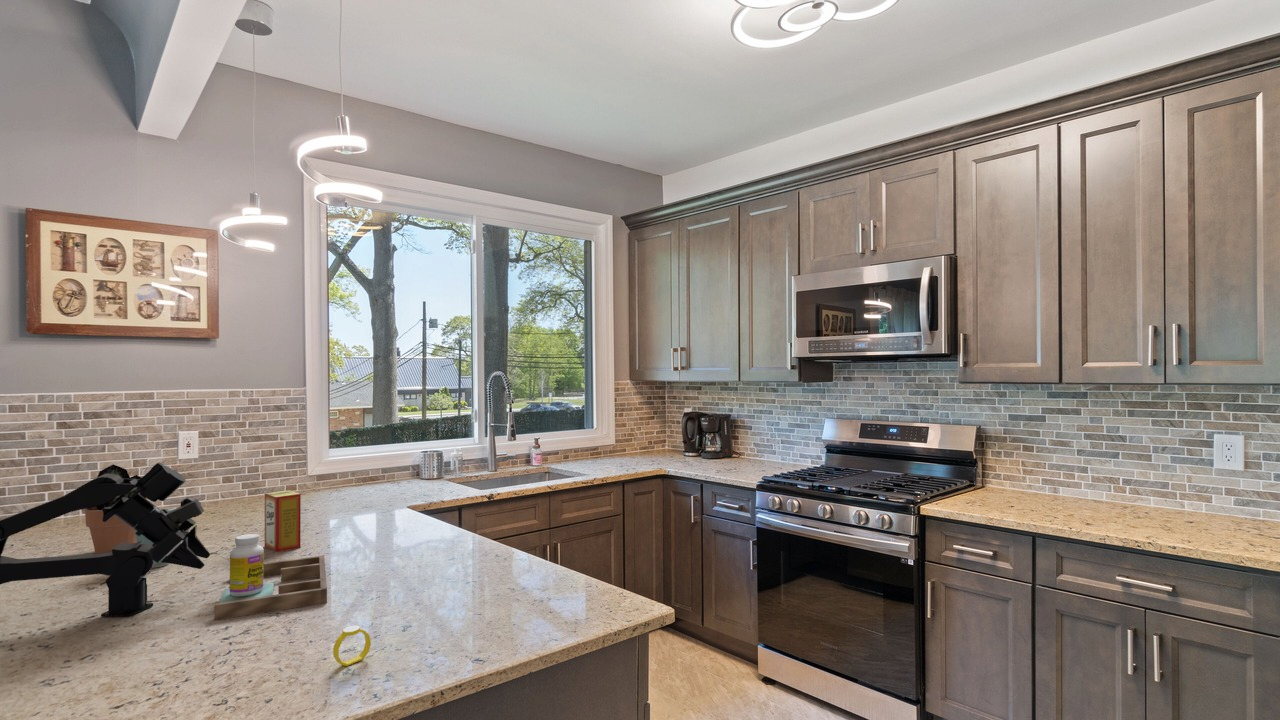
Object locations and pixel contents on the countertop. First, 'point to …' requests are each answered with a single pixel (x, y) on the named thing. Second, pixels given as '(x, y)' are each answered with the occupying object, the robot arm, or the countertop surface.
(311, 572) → the wooden compartment box
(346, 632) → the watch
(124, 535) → the potted plant
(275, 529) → the baking soda box
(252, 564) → the supplement bottle
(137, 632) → the countertop surface
